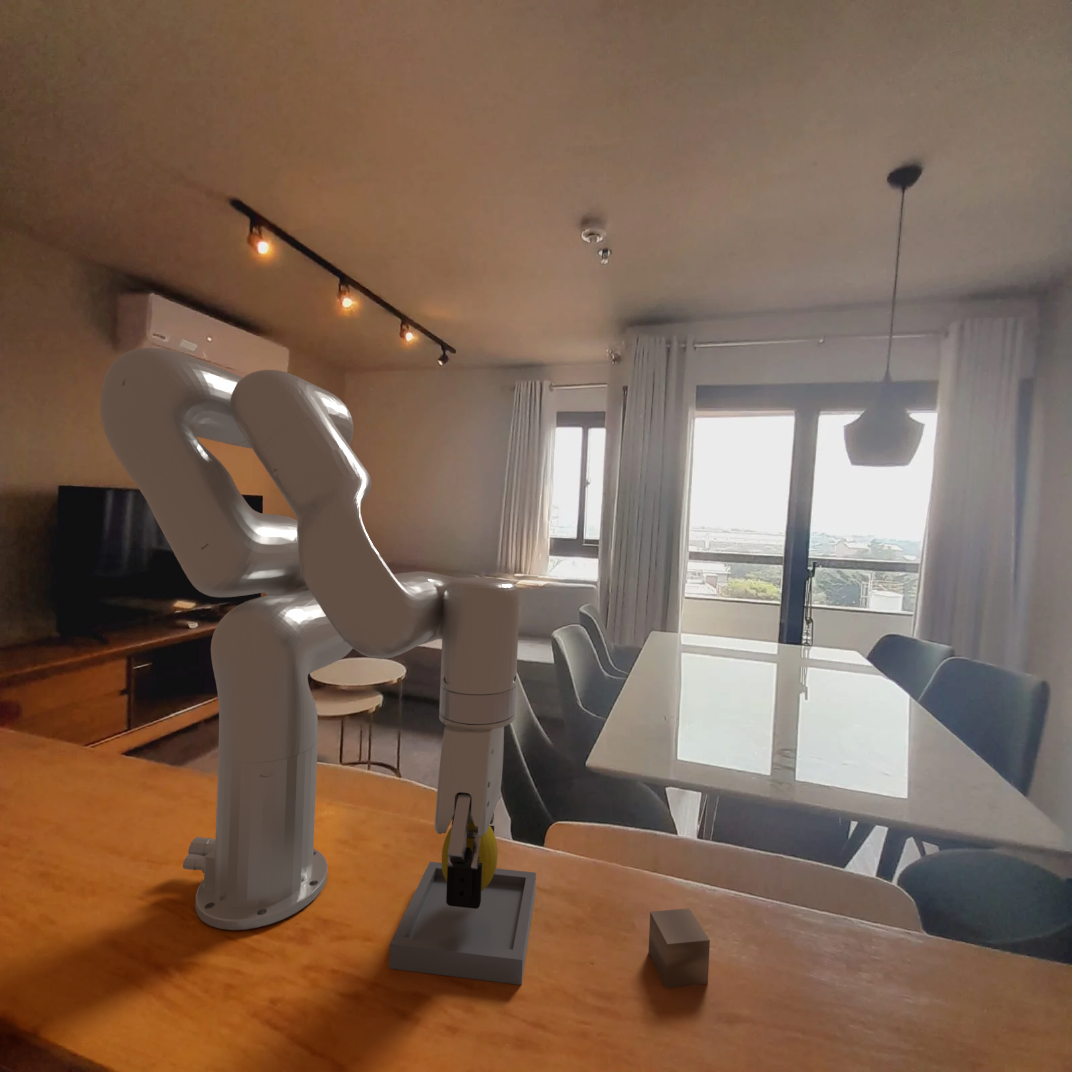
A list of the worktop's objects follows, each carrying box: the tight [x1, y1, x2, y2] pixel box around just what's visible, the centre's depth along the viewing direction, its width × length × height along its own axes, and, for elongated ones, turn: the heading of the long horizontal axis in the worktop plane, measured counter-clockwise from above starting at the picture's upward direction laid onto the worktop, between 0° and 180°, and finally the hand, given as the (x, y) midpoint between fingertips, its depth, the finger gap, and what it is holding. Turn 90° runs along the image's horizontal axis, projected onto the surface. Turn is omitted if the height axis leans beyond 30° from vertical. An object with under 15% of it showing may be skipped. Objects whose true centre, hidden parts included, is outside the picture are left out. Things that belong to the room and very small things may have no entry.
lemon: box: [441, 823, 498, 891], centre depth 53 cm, size 6×6×8 cm
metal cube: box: [648, 908, 711, 989], centre depth 49 cm, size 4×4×4 cm
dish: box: [388, 861, 537, 986], centre depth 53 cm, size 12×12×2 cm
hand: (471, 881), depth 53 cm, fingers closed on lemon, 5 cm apart
